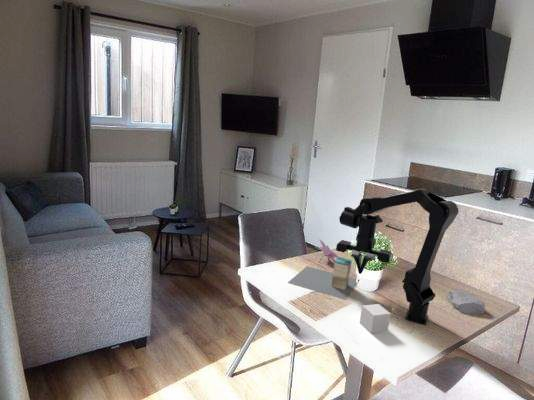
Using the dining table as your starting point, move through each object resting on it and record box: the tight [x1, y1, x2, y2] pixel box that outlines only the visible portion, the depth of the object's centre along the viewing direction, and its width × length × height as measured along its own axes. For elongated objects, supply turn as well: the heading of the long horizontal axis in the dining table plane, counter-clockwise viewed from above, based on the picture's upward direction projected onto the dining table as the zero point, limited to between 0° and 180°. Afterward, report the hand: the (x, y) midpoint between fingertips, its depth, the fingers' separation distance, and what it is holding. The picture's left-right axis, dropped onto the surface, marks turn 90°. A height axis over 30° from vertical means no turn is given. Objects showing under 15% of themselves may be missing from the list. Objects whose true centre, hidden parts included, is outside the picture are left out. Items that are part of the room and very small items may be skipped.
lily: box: [318, 238, 339, 264], centre depth 167 cm, size 12×12×10 cm
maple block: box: [332, 256, 353, 290], centre depth 144 cm, size 5×5×10 cm
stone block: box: [446, 289, 486, 315], centre depth 138 cm, size 12×5×10 cm
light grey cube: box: [359, 303, 391, 334], centre depth 118 cm, size 6×6×6 cm
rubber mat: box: [287, 265, 358, 300], centre depth 147 cm, size 20×22×1 cm
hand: (360, 273), depth 140 cm, fingers closed
